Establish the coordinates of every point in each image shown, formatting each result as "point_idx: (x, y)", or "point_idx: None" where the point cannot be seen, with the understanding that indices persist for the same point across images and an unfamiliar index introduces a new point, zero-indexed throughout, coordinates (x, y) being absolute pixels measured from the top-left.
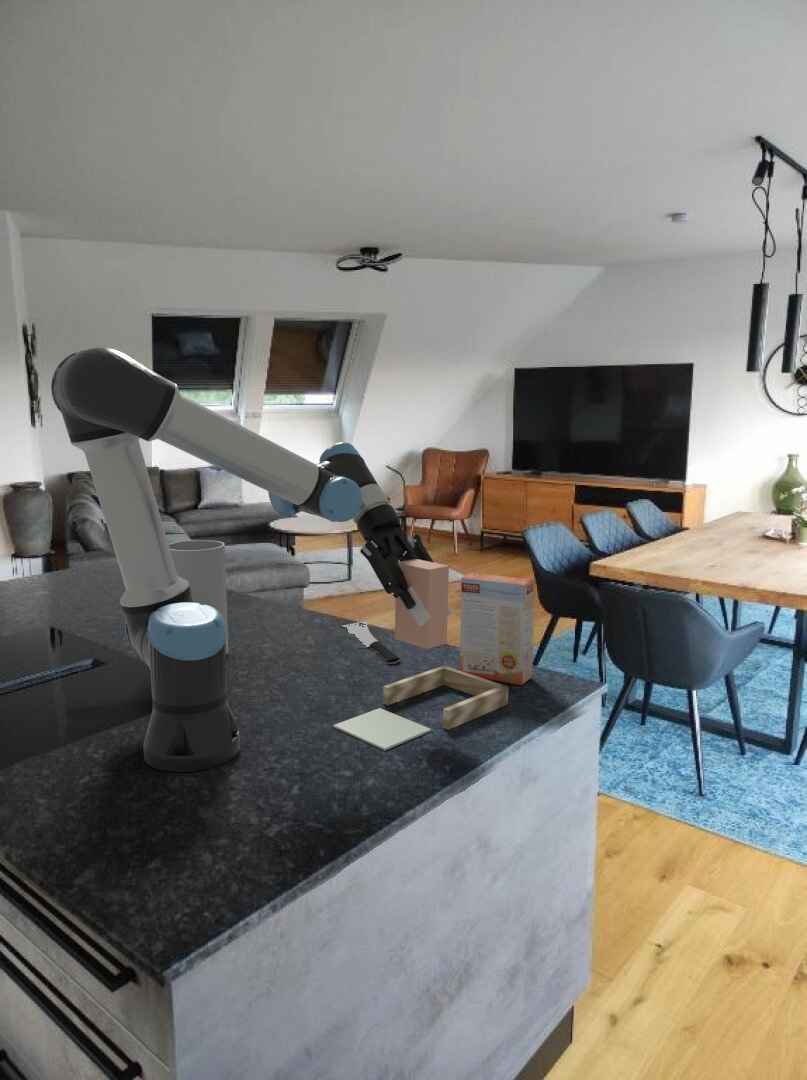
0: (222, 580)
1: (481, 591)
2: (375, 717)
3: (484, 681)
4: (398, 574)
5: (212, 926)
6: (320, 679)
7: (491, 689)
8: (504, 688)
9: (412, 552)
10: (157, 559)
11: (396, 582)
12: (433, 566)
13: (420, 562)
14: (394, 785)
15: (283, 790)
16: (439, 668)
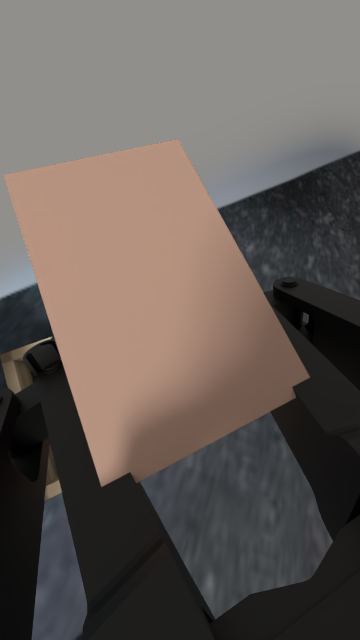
0: None
1: None
2: None
3: (20, 390)
4: (281, 316)
5: (357, 157)
6: (246, 583)
7: (22, 376)
8: (10, 351)
9: (124, 574)
10: None
11: (286, 282)
12: (115, 190)
13: (139, 327)
14: (233, 235)
15: (319, 263)
16: (54, 488)
